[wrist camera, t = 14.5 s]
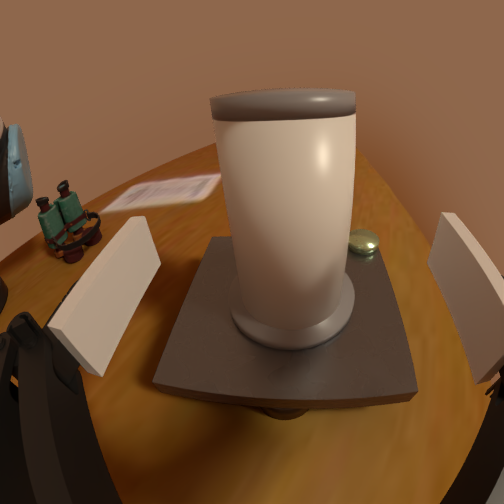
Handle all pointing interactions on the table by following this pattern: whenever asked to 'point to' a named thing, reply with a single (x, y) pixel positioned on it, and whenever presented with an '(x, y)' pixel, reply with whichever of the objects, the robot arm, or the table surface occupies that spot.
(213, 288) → the stand
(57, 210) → the binoculars
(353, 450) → the table surface
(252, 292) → the white flanged cylinder
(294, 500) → the table surface
